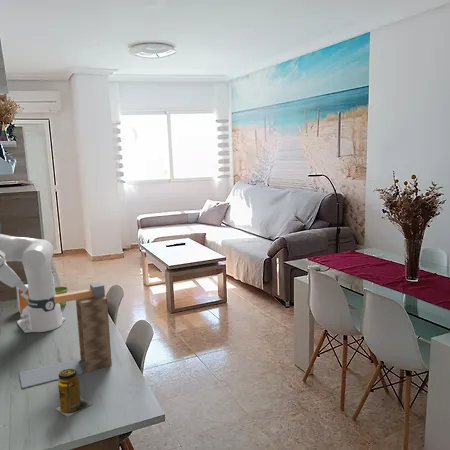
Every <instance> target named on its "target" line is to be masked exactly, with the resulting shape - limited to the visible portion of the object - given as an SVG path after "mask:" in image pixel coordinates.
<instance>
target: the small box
mask: <svg viewBox="0 0 450 450" xmlns="http://www.w3.org/2000/svg"><path fill="white" fill-rule="evenodd" d="M24 285H25V286H26V287H27V288H28V283H27V284H24ZM15 289H16V298H17V299H16V300H17V307H18V312H19V314H20V315H22V311H23V310H24V309H25V308H26V307H27V306H28V298H27V297H29V291H28V290H27V291H26V292H23V291H22V290H20V289H18V288H17V287H15Z"/></svg>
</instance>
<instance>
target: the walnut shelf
mask: <svg viewBox="0 0 450 450" xmlns="http://www.w3.org/2000/svg"><path fill="white" fill-rule="evenodd" d="M75 307H76V309H75V310H76V319H77V329H78V330H77V331H78V333H77V334H78V342H79V356H80V361H81V362H83V361H85V363H84V364H85V370H86V372H91V371H95V370H98V369H103V368H107V367H111V366H113V365H112V363H113V362H112V352H111V350H112V349H111V336H110V321H109V306H108V298H107V296H106V295H105V296H102V297H97V298H93V297H90V298H85V299H79V300H75Z"/></svg>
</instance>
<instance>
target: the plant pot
mask: <svg viewBox="0 0 450 450" xmlns="http://www.w3.org/2000/svg"><path fill="white" fill-rule="evenodd" d="M68 289H69V287H67V286H55V293H56V295H58V294H64V293H68ZM58 304H60V307H61V308H62V307H64V306H66V305H67V302H62V303H58Z"/></svg>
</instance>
